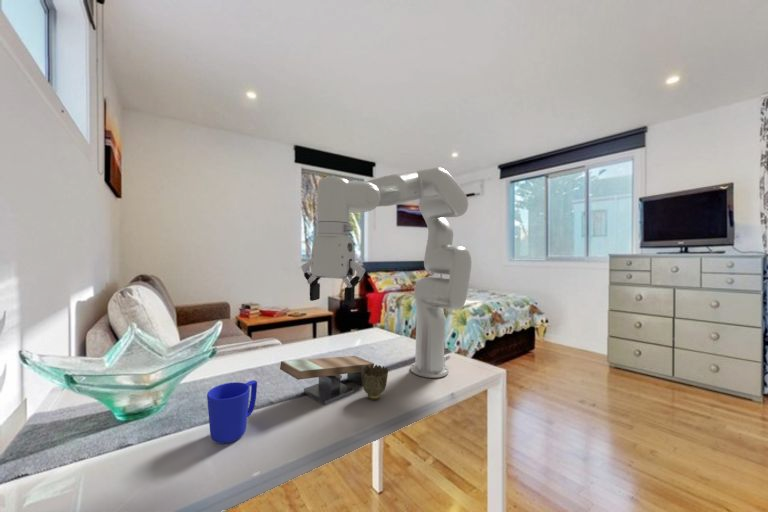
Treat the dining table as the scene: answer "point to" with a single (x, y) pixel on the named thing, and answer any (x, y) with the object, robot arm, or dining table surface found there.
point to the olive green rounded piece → (374, 380)
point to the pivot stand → (332, 388)
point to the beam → (324, 367)
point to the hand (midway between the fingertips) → (331, 301)
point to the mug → (230, 410)
